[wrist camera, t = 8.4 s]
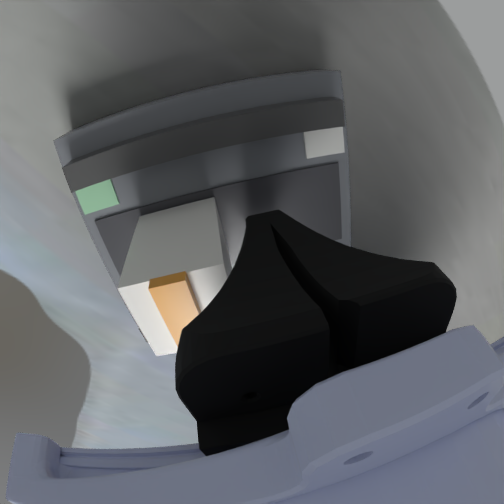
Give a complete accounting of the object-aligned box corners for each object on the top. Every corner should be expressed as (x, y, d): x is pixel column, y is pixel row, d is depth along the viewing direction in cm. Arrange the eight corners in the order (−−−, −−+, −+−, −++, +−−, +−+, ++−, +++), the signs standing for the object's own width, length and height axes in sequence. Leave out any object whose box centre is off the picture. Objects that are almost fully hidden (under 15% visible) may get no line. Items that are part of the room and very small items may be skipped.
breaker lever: (231, 261, 13) (247, 349, 9) (164, 277, 13) (156, 366, 9) (214, 195, 12) (224, 271, 8) (139, 215, 12) (113, 296, 8)
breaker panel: (336, 272, 18) (357, 307, 15) (150, 316, 17) (145, 356, 15) (321, 69, 11) (352, 71, 9) (71, 130, 11) (42, 147, 9)
